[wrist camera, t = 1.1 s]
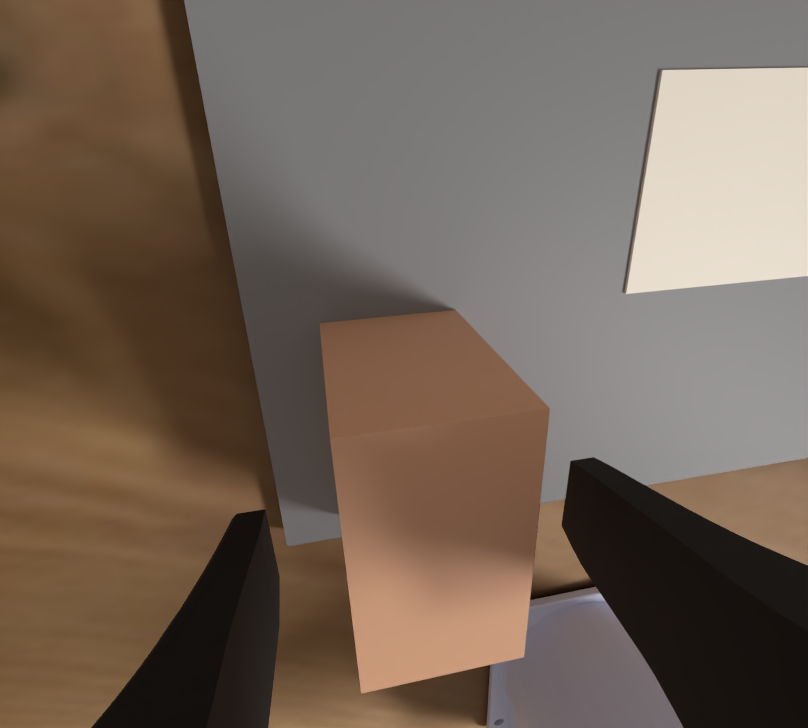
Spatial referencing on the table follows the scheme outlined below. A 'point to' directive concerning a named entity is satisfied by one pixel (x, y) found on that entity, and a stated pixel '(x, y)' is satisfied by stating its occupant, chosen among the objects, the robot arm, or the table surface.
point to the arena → (525, 214)
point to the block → (432, 493)
